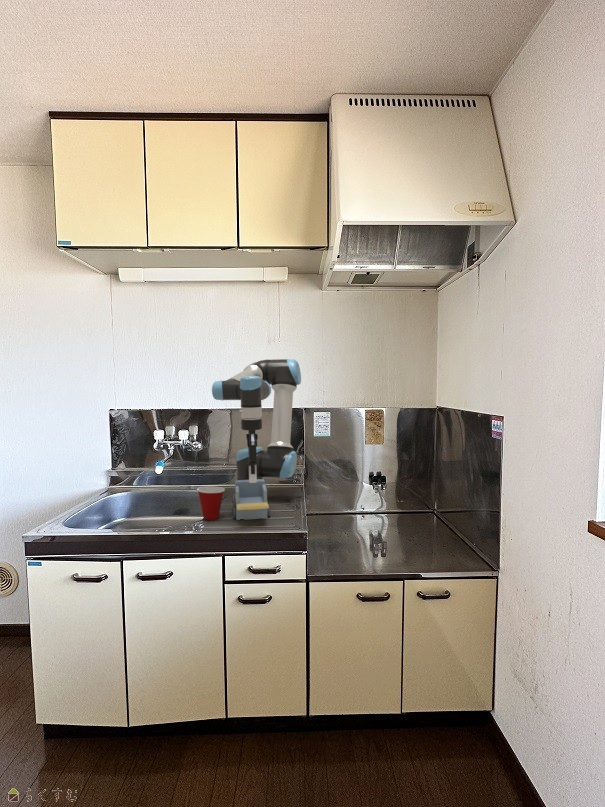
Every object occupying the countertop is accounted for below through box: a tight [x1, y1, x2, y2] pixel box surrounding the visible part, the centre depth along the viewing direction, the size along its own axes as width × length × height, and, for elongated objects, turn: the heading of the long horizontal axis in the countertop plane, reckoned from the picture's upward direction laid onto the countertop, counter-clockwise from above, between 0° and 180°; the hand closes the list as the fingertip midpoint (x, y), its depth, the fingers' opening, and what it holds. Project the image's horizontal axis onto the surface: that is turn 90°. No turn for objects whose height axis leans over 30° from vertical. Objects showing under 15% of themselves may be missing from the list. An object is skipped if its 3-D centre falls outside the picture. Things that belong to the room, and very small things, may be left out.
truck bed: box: [232, 478, 271, 521], centre depth 190 cm, size 14×14×12 cm
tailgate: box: [237, 502, 270, 510], centre depth 178 cm, size 2×12×9 cm
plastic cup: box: [196, 485, 226, 521], centre depth 185 cm, size 11×11×12 cm
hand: (252, 482), depth 173 cm, fingers closed
